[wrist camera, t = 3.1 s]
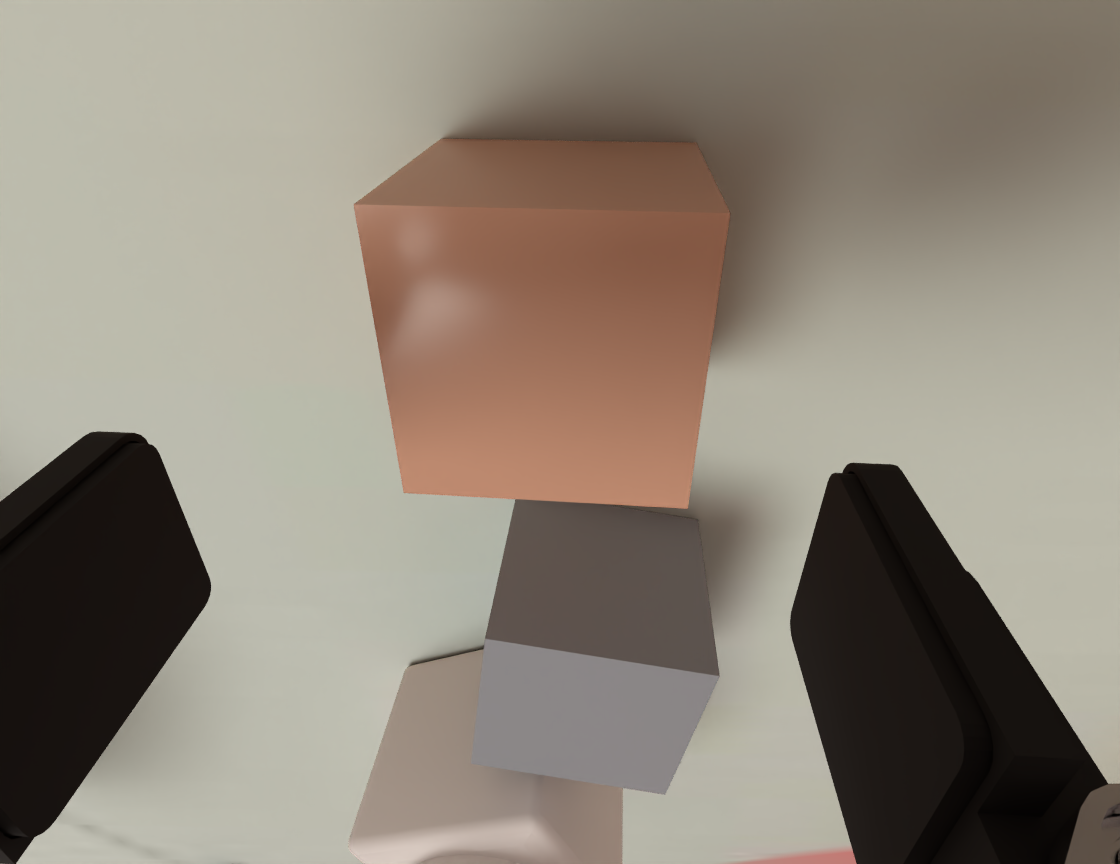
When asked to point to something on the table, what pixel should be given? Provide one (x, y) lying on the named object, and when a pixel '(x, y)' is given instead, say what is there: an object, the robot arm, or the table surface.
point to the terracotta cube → (546, 316)
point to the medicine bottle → (471, 789)
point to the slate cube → (596, 646)
